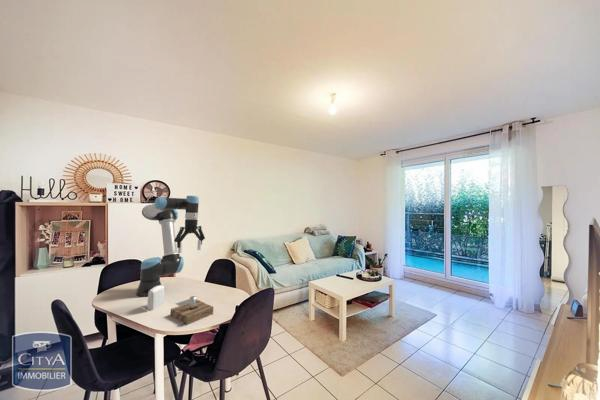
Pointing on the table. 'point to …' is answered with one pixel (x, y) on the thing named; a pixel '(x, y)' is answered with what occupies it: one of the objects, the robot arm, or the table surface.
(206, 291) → the table surface
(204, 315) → the socket block
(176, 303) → the mat
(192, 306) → the pin
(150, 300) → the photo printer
